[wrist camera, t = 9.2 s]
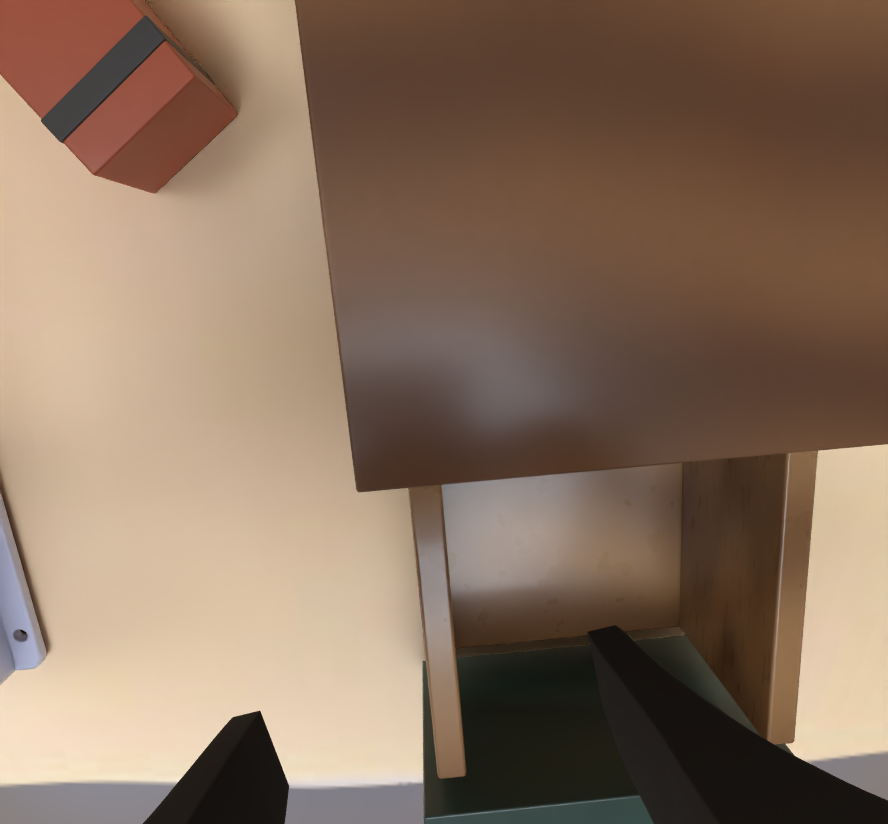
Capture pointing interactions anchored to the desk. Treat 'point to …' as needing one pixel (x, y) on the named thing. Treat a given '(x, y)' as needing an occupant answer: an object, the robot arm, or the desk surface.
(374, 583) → the desk surface
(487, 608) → the drawer
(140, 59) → the block
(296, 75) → the desk surface
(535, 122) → the cabinet
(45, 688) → the desk surface
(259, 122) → the desk surface
